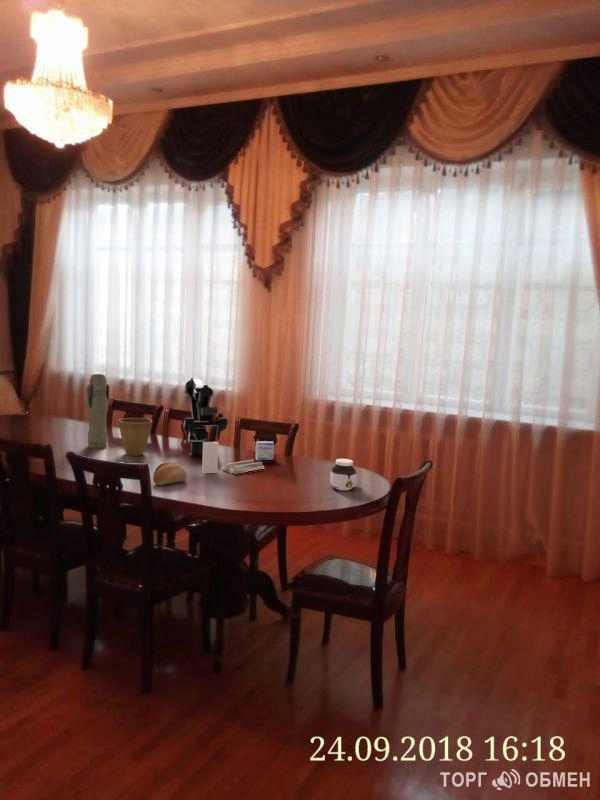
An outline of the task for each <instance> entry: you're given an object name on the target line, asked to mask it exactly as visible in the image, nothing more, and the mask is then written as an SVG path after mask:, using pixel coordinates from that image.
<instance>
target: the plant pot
mask: <svg viewBox="0 0 600 800" xmlns="http://www.w3.org/2000/svg"><path fill="white" fill-rule="evenodd" d="M118 424H119V425H118V426H119V431H120V437H121V441H122V445H123V448H124V452H125V454H126V455H127V456H131V455H132V457H133V456H135V457H136V456H138V455H139V456H143V454H144V452H145V450H146V448H147V445H148V441H149V438H150V435H151V434H150V433H151V430H152V424H153V420H152V419H149V418H144V417H127V418H125V417H124V418H121V419H118Z"/></svg>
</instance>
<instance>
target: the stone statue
mask: <svg viewBox="0 0 600 800" xmlns="http://www.w3.org/2000/svg"><path fill="white" fill-rule="evenodd" d="M110 387H111V386H110V384H108V383H107V378H106V375H104V374H102V373H101V374H100V373H95V374H94V373H93V374H92V375H91V377H90V378H89V384H88V385H87V386H86V389H85V391H86V392H85V393H86V396H85V397H86V398H85V400H86V401H85V405H86V406H87V411H88V432H87V444H88V445H87V448H88V447H89V449H91V448H94V449H93V450H96V449H97V450H101V448H103V449H106V448H108V445H107V444H108V431H107V412H108V407H109V405H110V390H111V389H110Z"/></svg>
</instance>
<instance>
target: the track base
mask: <svg viewBox="0 0 600 800" xmlns="http://www.w3.org/2000/svg"><path fill="white" fill-rule="evenodd" d="M258 469H264V470H265V466H264V465H263V461H257V462H255V459H248V460H241V461H236V462H229V463H225V464H224V466H222V471H223V470H226V471H228V472H227V473H229V472H232V473H235V474H238V473H243V472H248V471H253V470H258ZM226 471H225V472H226ZM232 473H231V474H232ZM235 474H234V475H235ZM243 474H244V473H243ZM238 475H239V474H238Z"/></svg>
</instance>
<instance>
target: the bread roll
mask: <svg viewBox="0 0 600 800" xmlns="http://www.w3.org/2000/svg"><path fill="white" fill-rule="evenodd" d="M152 476H153V477H152V480H153V484H154V485H157V486H164V485H169V484H175V483H182V482H185V481H186V479H187V472H186V470H185V468H184V467H183V466H182V465H180V464H178V463H176V462H163V463H161V464H159V465H158V466H157V467H156V468H155V470H154V471H153V475H152Z"/></svg>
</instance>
